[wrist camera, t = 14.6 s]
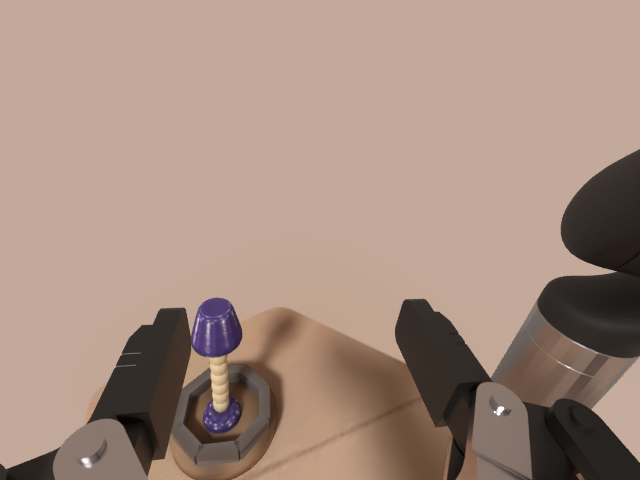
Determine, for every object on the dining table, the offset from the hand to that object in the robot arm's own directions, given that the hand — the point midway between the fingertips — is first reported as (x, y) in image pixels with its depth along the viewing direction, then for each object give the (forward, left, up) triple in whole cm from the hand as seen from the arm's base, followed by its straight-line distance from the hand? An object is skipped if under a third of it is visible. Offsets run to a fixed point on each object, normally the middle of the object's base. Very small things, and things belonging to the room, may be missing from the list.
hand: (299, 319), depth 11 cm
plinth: (+6, -13, -30) cm, 33 cm away
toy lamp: (+6, -13, -28) cm, 32 cm away
